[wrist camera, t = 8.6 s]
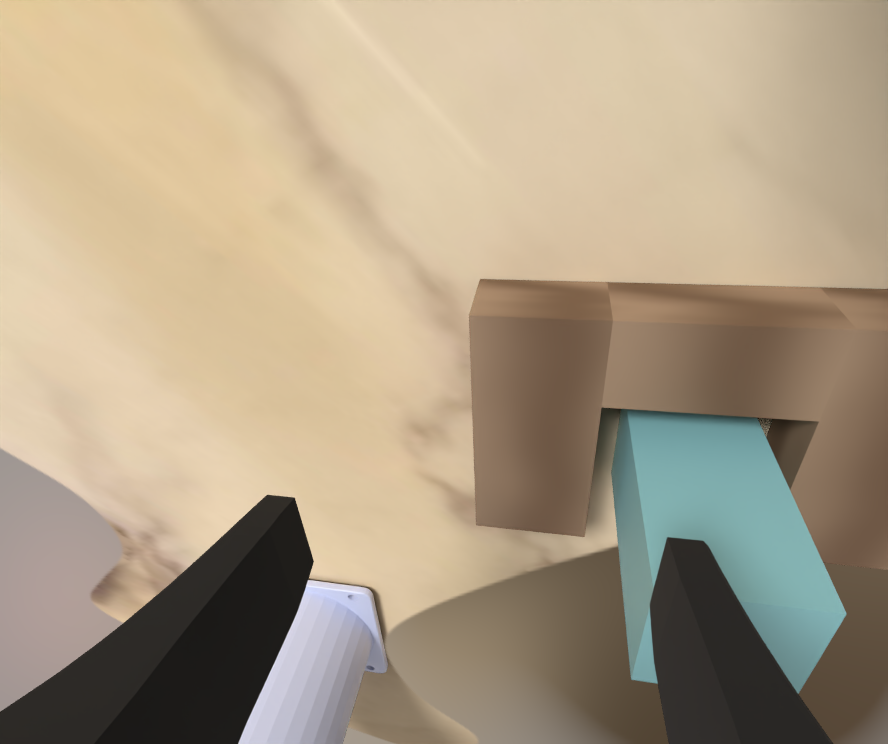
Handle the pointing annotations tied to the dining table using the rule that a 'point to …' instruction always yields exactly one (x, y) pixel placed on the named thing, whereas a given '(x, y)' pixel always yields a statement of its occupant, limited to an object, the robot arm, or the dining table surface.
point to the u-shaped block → (682, 393)
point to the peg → (719, 531)
